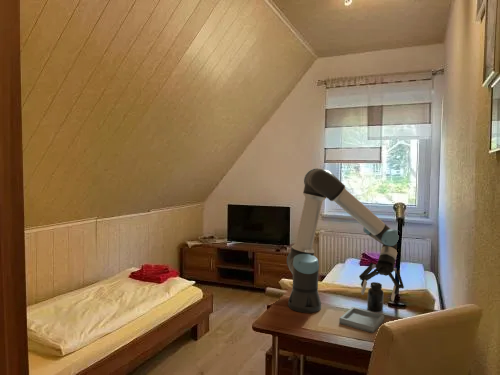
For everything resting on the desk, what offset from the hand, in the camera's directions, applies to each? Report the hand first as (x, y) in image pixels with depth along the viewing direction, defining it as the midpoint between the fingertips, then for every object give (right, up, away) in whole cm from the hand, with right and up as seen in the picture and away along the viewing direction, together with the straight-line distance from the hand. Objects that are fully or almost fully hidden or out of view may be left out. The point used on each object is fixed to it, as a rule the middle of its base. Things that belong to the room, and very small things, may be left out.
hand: (376, 296), depth 170 cm
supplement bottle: (-1, -6, +1) cm, 6 cm away
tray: (-11, -7, -13) cm, 19 cm away
